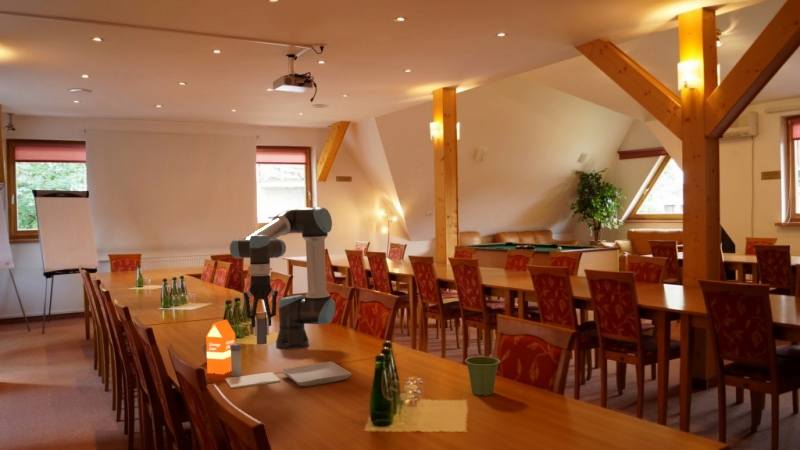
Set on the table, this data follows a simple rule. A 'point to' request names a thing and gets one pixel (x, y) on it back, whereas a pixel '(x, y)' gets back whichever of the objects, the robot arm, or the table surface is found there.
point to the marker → (261, 328)
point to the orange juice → (219, 347)
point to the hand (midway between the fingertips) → (261, 335)
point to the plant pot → (482, 374)
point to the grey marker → (235, 360)
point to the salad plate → (316, 373)
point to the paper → (252, 380)
